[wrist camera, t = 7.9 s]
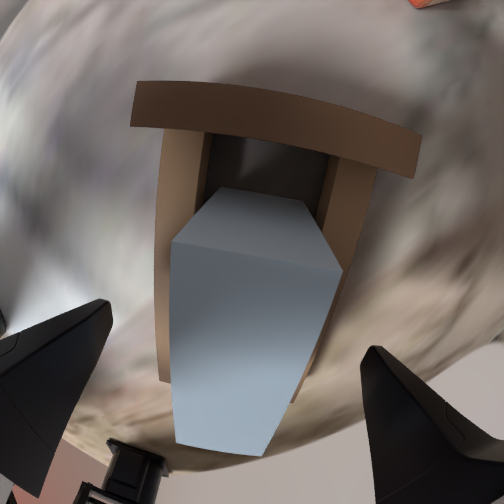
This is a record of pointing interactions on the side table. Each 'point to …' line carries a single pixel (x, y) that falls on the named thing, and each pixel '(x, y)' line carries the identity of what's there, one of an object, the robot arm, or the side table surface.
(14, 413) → the robot arm
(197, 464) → the side table surface
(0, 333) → the wine bottle
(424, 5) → the cracker box
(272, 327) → the gray block
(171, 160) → the track
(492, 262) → the side table surface
